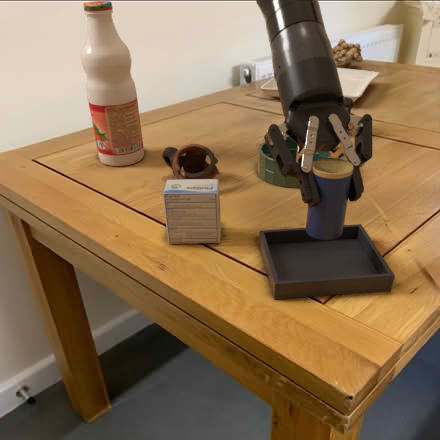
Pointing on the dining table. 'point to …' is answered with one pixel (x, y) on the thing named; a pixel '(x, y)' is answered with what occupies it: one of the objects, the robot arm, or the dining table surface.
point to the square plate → (349, 79)
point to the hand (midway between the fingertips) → (335, 201)
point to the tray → (323, 263)
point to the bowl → (271, 171)
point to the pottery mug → (191, 161)
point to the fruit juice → (111, 89)
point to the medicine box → (192, 211)
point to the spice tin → (329, 198)
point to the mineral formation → (346, 54)
